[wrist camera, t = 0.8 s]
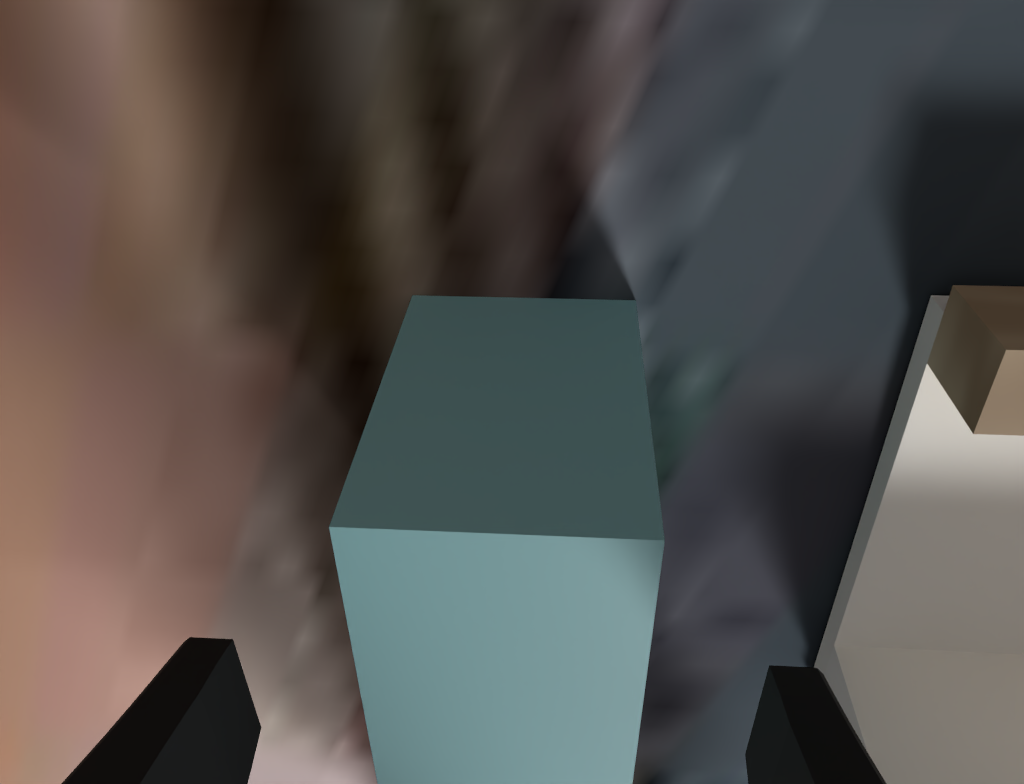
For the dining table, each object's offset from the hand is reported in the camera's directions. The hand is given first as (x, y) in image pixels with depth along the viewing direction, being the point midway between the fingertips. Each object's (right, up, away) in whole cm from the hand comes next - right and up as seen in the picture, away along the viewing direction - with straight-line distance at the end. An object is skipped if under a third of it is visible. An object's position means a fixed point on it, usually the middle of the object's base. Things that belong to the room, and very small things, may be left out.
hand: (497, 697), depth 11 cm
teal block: (0, +3, +5) cm, 6 cm away
